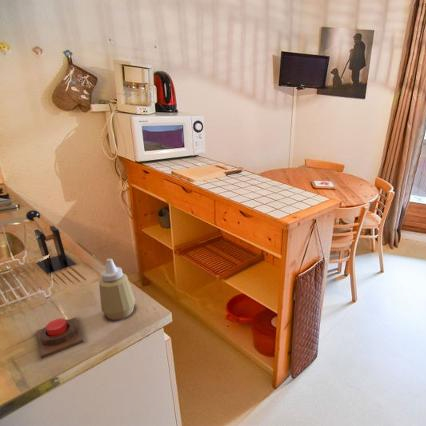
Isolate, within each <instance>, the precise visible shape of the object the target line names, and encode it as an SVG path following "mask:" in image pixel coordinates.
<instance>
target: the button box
mask: <svg viewBox="0 0 426 426" xmlns="http://www.w3.org/2000/svg"><path fill="white" fill-rule="evenodd" d="M65 320H66V321H67V324H68V330H67V331H65V332H64V333H62V334H60V335H57V336H49V335H48V334H47V331H46V326H45V327H43V328H41V329H38V330H36V335H37V336H36V337H37V341H38V348H39V353H40V358H41V359H44V358H48V357H50V356H52V355H54V354H57V353H60V352H62V351H65V350H67V349H69V348H72V347H75V346H77V345H80V344H82V343H84V339H83V335H82V331H81V330H80V326H79V322H78V320H77V317H76V316H75V317H72V318H70V319H69V318H68V319H65Z"/></svg>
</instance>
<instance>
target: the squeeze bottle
mask: <svg viewBox="0 0 426 426" xmlns="http://www.w3.org/2000/svg"><path fill="white" fill-rule="evenodd" d="M98 286H99V297H100V308H101V311H102V313H103V314H104V315H105V317H107V318H108V320H112V321H118V320H122V319H125V318H127V317H129V316H130V315H131V314H133V311H134V308H135V304H136V298H135V296H134V292H133V289H132V286H131V283H130V280H129V277H128V275H127V274H126V273H123V269H122V267H120V266H116V264H115V263H114V260H113V258H112V257H111V258H110V257H109V258H107V259H106V262H105V269H104V270H103V271H101V278H100V280H99V281H98Z"/></svg>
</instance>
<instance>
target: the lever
mask: <svg viewBox="0 0 426 426" xmlns="http://www.w3.org/2000/svg"><path fill="white" fill-rule="evenodd" d="M25 218H26V219H27V220H28V221H31V222H34V223H35V224H36V226H37V227H38V228H39V229H40V231H41V232H42V233H43V235H44V238H45V242H48V241H52V240H53V239H54V234H53V232H52V231H51V230H50V228H46V226H45V225H44V223H43V222H42V221H41V220H40V218H41V213H40V211H38V210H35V209H32V210H28V211H27V212H26V214H25Z"/></svg>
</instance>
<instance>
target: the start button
mask: <svg viewBox="0 0 426 426" xmlns="http://www.w3.org/2000/svg"><path fill="white" fill-rule="evenodd" d="M66 320H67V319H65V318H56V319H54V320H51V321H50V322H48V323H46V325H45V327H46V331H47V334H48V335H49V336H57V335H60V334H62V333H64V332H65V331H67V330H68V324H67V321H66Z"/></svg>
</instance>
